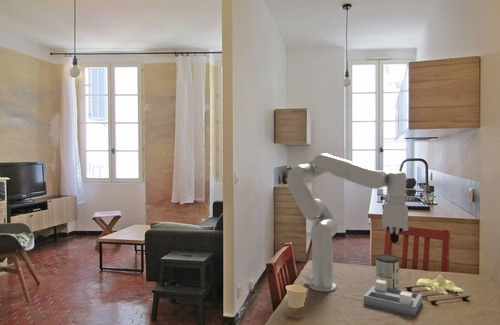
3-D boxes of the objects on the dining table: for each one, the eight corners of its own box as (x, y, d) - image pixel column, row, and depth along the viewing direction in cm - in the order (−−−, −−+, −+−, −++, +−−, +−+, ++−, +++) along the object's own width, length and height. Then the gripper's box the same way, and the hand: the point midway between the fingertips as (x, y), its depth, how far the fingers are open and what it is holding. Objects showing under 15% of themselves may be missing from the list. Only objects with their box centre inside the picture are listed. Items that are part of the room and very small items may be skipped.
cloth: (409, 280, 181) (410, 268, 181) (446, 280, 181) (447, 268, 181) (432, 298, 158) (432, 284, 158) (474, 298, 159) (474, 284, 158)
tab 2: (399, 306, 145) (399, 294, 145) (401, 303, 148) (401, 291, 148) (410, 309, 143) (410, 296, 143) (412, 305, 146) (412, 293, 146)
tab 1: (375, 293, 159) (375, 281, 159) (377, 290, 162) (377, 279, 162) (384, 295, 157) (384, 283, 157) (387, 292, 160) (387, 281, 160)
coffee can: (375, 281, 178) (375, 253, 177) (398, 284, 174) (398, 255, 174) (375, 289, 168) (375, 259, 168) (399, 291, 165) (399, 261, 164)
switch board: (363, 303, 152) (363, 295, 152) (374, 292, 164) (374, 284, 164) (414, 316, 141) (414, 307, 141) (422, 302, 153) (422, 294, 153)
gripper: (375, 199, 156) (374, 241, 157) (412, 203, 147) (411, 247, 148) (380, 197, 162) (379, 238, 163) (416, 201, 153) (415, 243, 154)
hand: (394, 242), depth 155 cm, fingers closed
